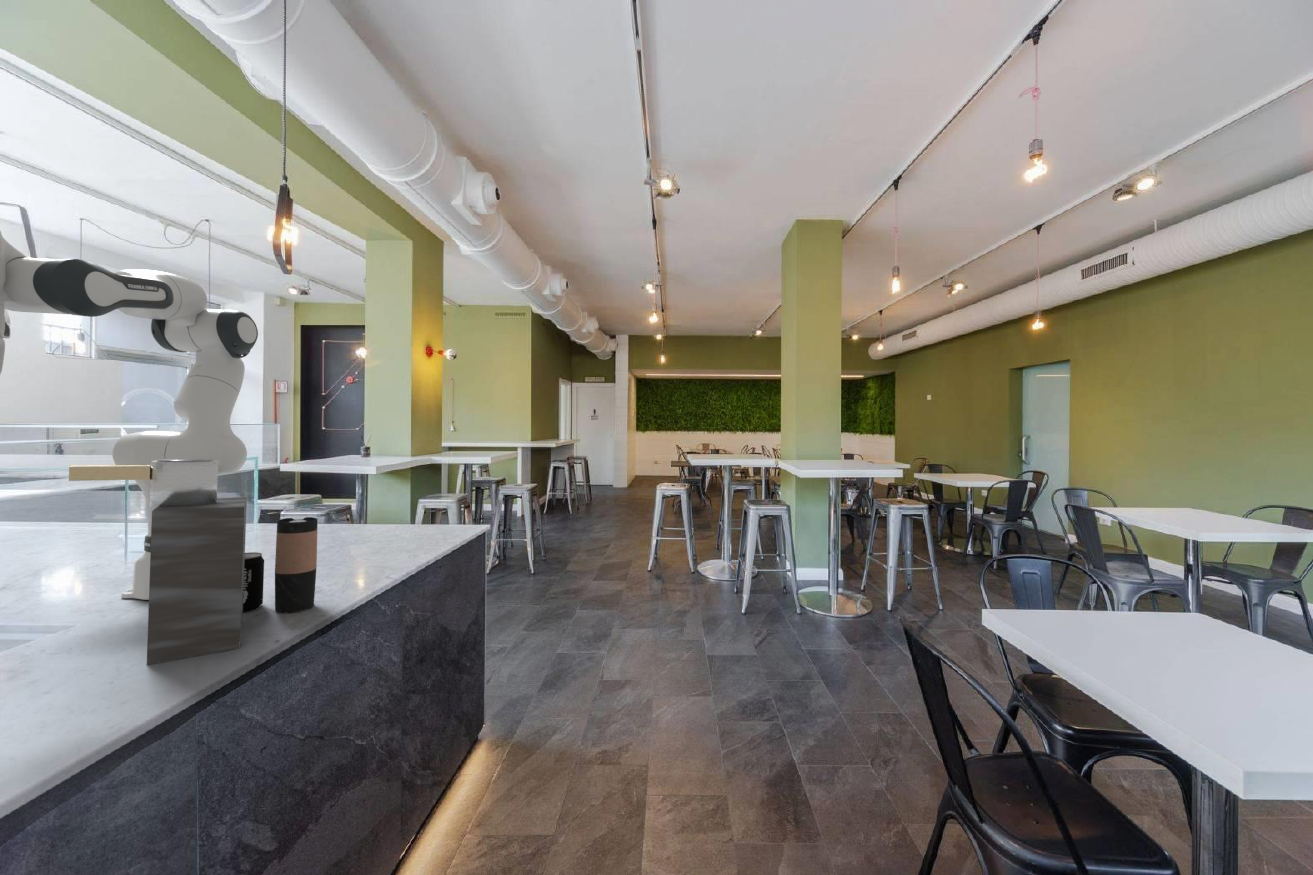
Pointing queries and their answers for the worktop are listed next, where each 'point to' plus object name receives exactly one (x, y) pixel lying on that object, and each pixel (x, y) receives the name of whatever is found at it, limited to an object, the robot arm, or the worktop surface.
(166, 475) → the milk pan
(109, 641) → the worktop surface
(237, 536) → the stand
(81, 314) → the robot arm
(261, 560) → the beverage can
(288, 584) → the travel mug
